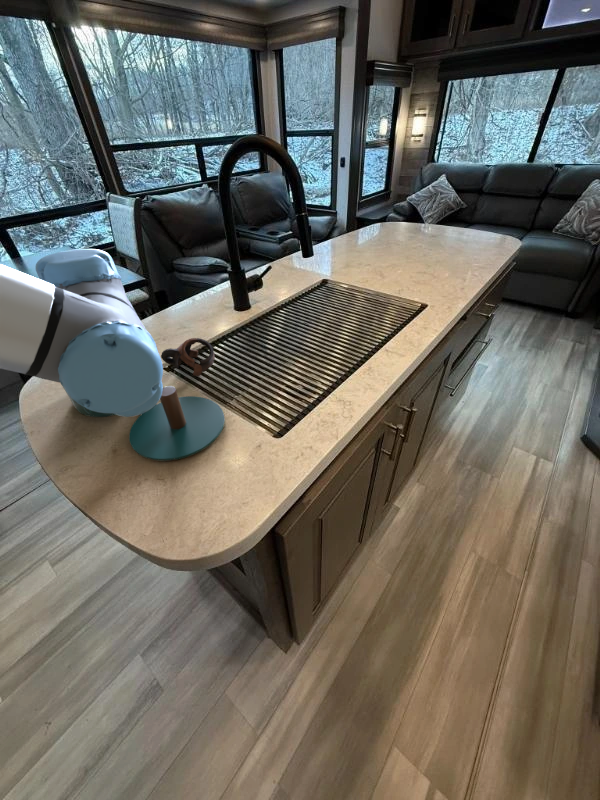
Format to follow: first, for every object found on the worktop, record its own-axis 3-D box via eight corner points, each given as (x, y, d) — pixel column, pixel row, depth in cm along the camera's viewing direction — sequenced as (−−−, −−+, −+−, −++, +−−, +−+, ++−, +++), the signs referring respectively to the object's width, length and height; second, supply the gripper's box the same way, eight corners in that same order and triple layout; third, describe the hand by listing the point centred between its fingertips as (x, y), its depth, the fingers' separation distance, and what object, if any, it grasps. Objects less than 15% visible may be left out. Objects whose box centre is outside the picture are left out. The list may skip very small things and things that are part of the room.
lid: (133, 476, 55) (113, 437, 50) (129, 414, 68) (112, 377, 62) (235, 444, 61) (228, 405, 55) (214, 391, 73) (206, 356, 68)
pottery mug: (207, 353, 87) (213, 333, 81) (214, 384, 84) (220, 366, 77) (158, 354, 82) (160, 332, 75) (163, 387, 78) (165, 367, 71)
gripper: (47, 391, 49) (29, 335, 63) (170, 350, 58) (130, 309, 72) (19, 346, 44) (6, 296, 58) (157, 309, 53) (117, 273, 67)
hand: (74, 303), depth 65 cm, fingers closed on onion, 6 cm apart
